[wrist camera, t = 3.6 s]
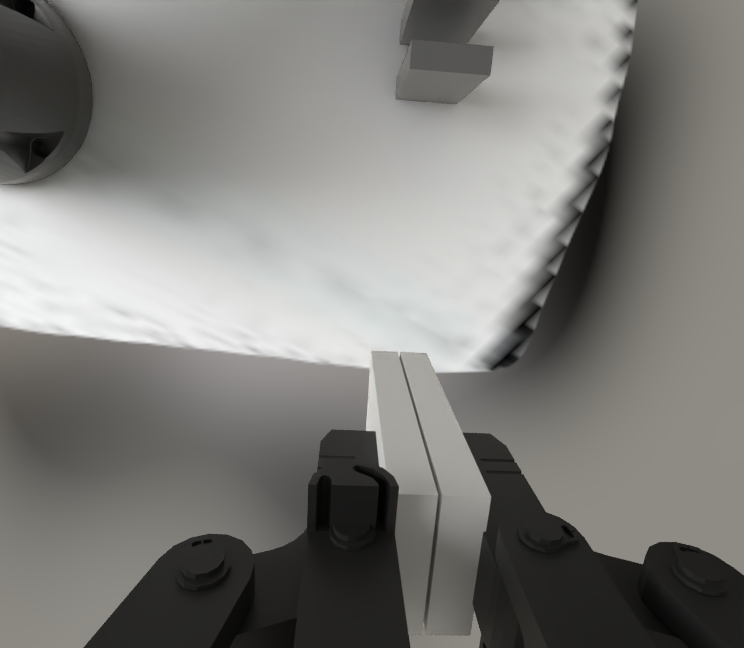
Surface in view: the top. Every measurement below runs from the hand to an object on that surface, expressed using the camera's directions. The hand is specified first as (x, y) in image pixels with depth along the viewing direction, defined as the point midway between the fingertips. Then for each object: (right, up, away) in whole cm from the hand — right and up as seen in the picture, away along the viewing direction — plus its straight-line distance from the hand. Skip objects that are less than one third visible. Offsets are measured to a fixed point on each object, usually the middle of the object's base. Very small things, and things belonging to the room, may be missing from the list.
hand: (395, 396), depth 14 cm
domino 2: (+4, +21, +25) cm, 33 cm away
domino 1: (+4, +25, +24) cm, 35 cm away
